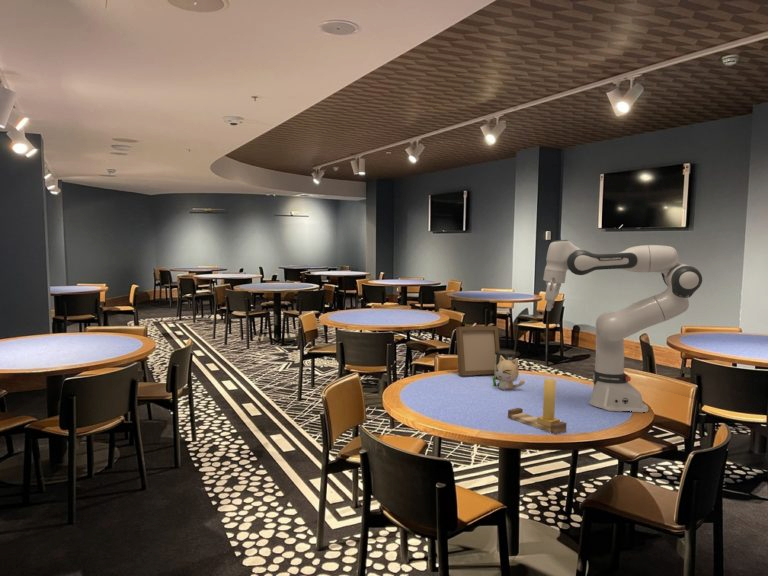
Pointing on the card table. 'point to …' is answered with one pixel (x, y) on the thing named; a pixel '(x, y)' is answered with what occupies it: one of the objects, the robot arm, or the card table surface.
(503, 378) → the kitten
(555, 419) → the keeper
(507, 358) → the coffee can
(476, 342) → the photo frame
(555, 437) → the card table surface
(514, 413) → the rail
